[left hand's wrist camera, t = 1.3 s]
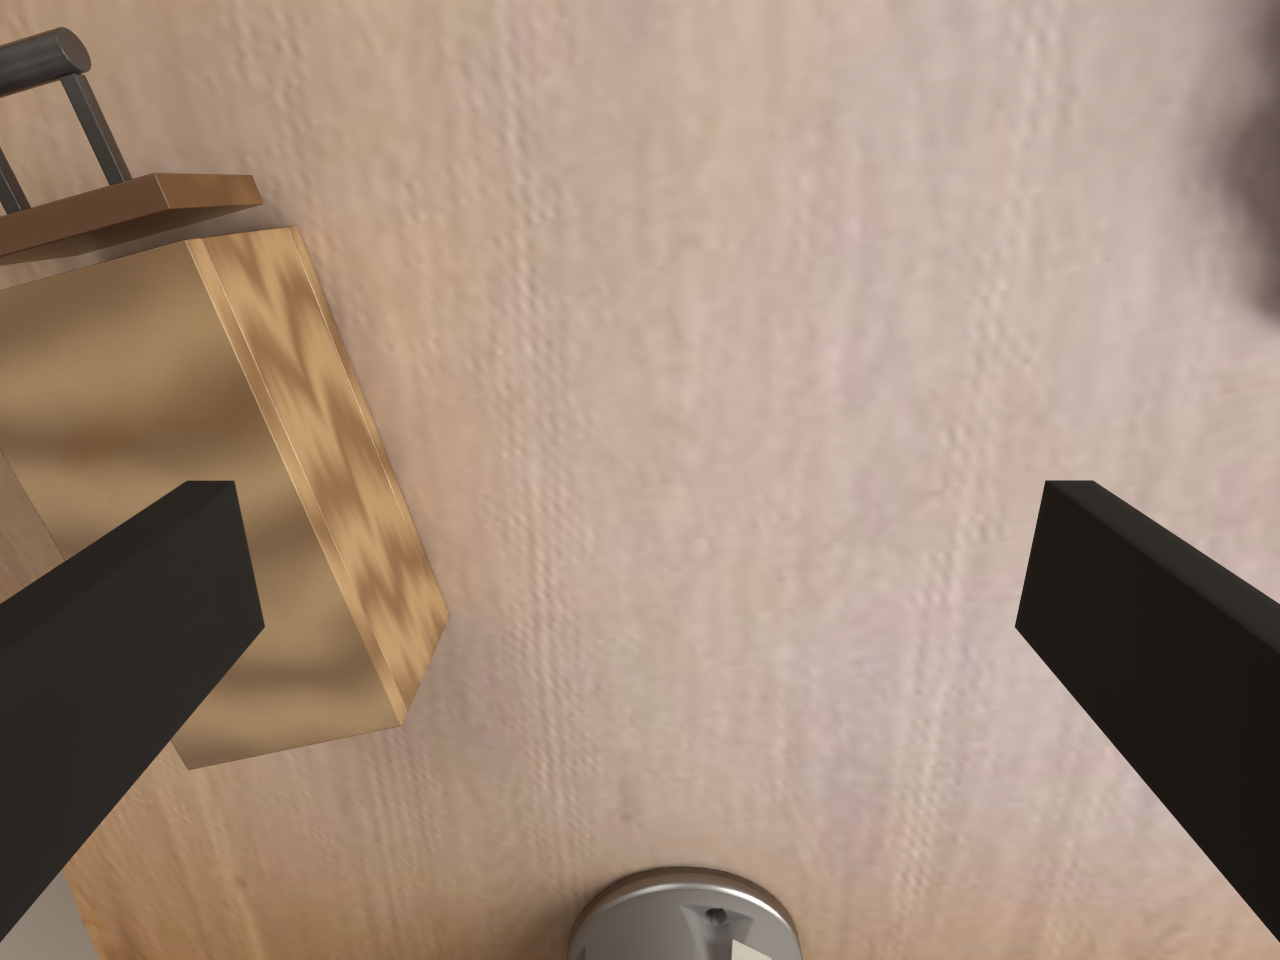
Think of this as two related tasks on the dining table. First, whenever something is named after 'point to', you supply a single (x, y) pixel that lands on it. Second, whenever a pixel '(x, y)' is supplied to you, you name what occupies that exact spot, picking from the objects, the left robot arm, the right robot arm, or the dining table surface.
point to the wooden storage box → (230, 469)
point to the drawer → (126, 201)
